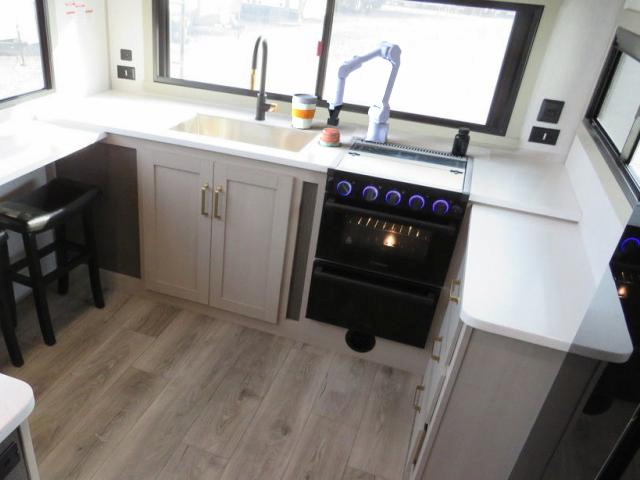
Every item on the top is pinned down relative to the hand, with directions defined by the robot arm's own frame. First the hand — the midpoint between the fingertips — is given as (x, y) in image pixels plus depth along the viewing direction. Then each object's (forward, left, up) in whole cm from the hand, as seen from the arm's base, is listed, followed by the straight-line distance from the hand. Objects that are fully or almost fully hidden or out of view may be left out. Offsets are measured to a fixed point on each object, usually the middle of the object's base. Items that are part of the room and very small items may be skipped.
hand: (333, 121), depth 268 cm
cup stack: (0, +1, -10) cm, 10 cm away
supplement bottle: (-58, -16, -10) cm, 61 cm away
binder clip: (0, 0, -1) cm, 1 cm away
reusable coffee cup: (+20, -19, -10) cm, 30 cm away
